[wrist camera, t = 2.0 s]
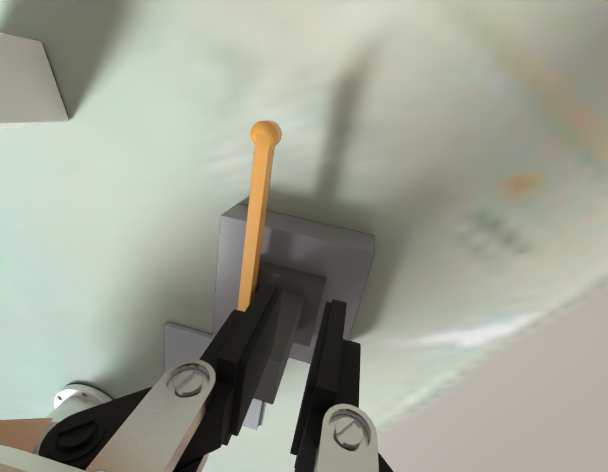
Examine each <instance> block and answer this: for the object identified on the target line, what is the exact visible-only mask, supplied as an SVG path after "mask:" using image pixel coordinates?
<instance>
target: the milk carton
mask: <svg viewBox="0 0 608 472" xmlns="http://www.w3.org/2000/svg"><path fill="white" fill-rule="evenodd" d="M66 121H68V116H67V113H66V110H65V107H64V104H63V102H62V99H61V96H60V93H59V90H58V87H57V84H56V82H55V79H54V76H53V73H52V70H51V67H50V64H49V62H48V59H47V56H46V53H45V50H44V48H43V45H42V43H41V42H40V41H37V40H33V39H28V38H23V37H19V36H14V35H10V34H5V33H1V32H0V129H8V128H20V127H27V126H35V125H43V124H51V123H58V122H66Z"/></svg>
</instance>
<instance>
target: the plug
mask: <svg viewBox="0 0 608 472" xmlns="http://www.w3.org/2000/svg"><path fill="white" fill-rule="evenodd" d="M264 281H267V282H270V283H274V284H278V285H279V289H282V290H283V295H282V300H281V306H280V312H279V318H278V323H277V329H276V335H275V340H274V345H273V349H272V352H271V355H270V357H269V360H268V362H267V365H266V367H265V370H264V372H263V375H262V377H261V380H260V382H259V385H258V387H257V390H256V392H255V395H254V397H253V399H257V400H260V401H263V402H266V403H270V404H273V403H274V400H275V397H276V394H277V391H278V388H279V385H280V382H281V378H282V375H283V372H284V369H285V366H286V363H287V360H288V357H289V354H290V351H291V348H292V345H293V343H297V344H301V345H304V346H308V347H310V344H311V340H312V336H313V331H314V327H315V323H316V319H317V315H318V310H319V306H320V302H321V298H322V294H323V289H324V285H325V281H326V277H323V276H319V275H315V274H311V273H307V272H303V271H300V270H296V269H292V268H288V267H284V266H280V265H276V264H272V263H268V262H264V261H259V269H258V276H257V284H256V291H255V295H256V294H257V292H258V291H259V289H260V287H261V286H262V284H263V283H264ZM254 297H255V296H254ZM253 299H254V298H253ZM253 299H252V300H253ZM251 302H252V301H251ZM251 302H250V304H251ZM250 304H249V305H250ZM248 307H249V306H248ZM248 307H247V308H248ZM246 310H247V309H246ZM246 310H245V312H246Z"/></svg>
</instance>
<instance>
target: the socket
mask: <svg viewBox="0 0 608 472" xmlns="http://www.w3.org/2000/svg"><path fill="white" fill-rule="evenodd" d="M247 215H248V206H246V205H242V204H236V205H235V206H234V207H232V208H231V209H229V210H228V211H226V212H225V213H224V214H222V215H221V218H220V232H219V247H218V261H217V276H216V290H215V305H214V319H213V333H212V335H213V336H216V334H217V333H218V331H219V330H220V328H221V327H222V325H223V324H224V322H225V321H226V320H227V318H228V317H229V315H230V314H231V312H232V311H233V310H235V309H236V310H237V309H238V299H239V290H240V281H241V271H242V262H243V253H244V243H245V234H246V225H247ZM374 254H375V246H374V235H369V234H365V233H361V232H357V231H353V230H348V229H344V228H340V227H336V226H331V225H327V224H323V223H319V222H314V221H310V220H306V219H302V218H297V217H293V216H289V215H285V214H280V213H276V212H272V211H268V210H266V216H265V223H264V231H263V239H262V246H261V254H260V261H264V262H268V263H272V264H276V265H280V266H284V267H288V268H292V269H296V270H300V271H303V272H307V273H311V274H315V275H319V276H323V277H326V281H325V285H324V289H323V294H322V298H321V302H320V306H319V310H318V315H317V319H316V323H315V327H314V331H313V336H312V340H311V344H310V347H308V346H304V345H301V344H297V343H293V345H292V348H291V351H290V354H289V358H293V359H296V360H300V361H303V362H307V363H310V364H311V360H312V356H313V352H314V348H315V344H316V340H317V336H318V332H319V328H320V324H321V320H322V316H323V312H324V308H325V304H326V301H328V302H331V303H332V299H335V300H339V301H343V302H347V306H346V315H345V324H344V333H343V339H345V340H349V337H350V333H351V330H352V327H353V323H354V320H355V317H356V313H357V310H358V307H359V303H360V300H361V297H362V293H363V290H364V287H365V284H366V280H367V277H368V274H369V270H370V267H371V264H372V260H373V257H374Z"/></svg>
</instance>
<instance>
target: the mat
mask: <svg viewBox="0 0 608 472" xmlns="http://www.w3.org/2000/svg"><path fill="white" fill-rule="evenodd" d="M214 337H215V336H213V335H211V334H207V333H204V332H200V331H197V330H193V329H190V328H186V327H183V326H179V325H176V324H172V323H169V322H166V323H165V325H164V356H165V371H167V370H168V369H169V368H170V367H171V366H172V365H174V364H176V363H178V362H180V361H184V360H188V359H197V360H199V359H200V357H201V356H202V355H203V353H204V352H205V350H206V349H207V347H208V346H209V344H210V343H211V341H212V340H213V339H214ZM262 402H263V401H260V400H257V399H252V402H251V404H250V407H249V409H248V412H247V414H246V417H245V419H244V422H243V424H242V425H243V426H246V427H249V428H252V429H255V430H257V428H258V425H259V419H260V413H261V407H262Z"/></svg>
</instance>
